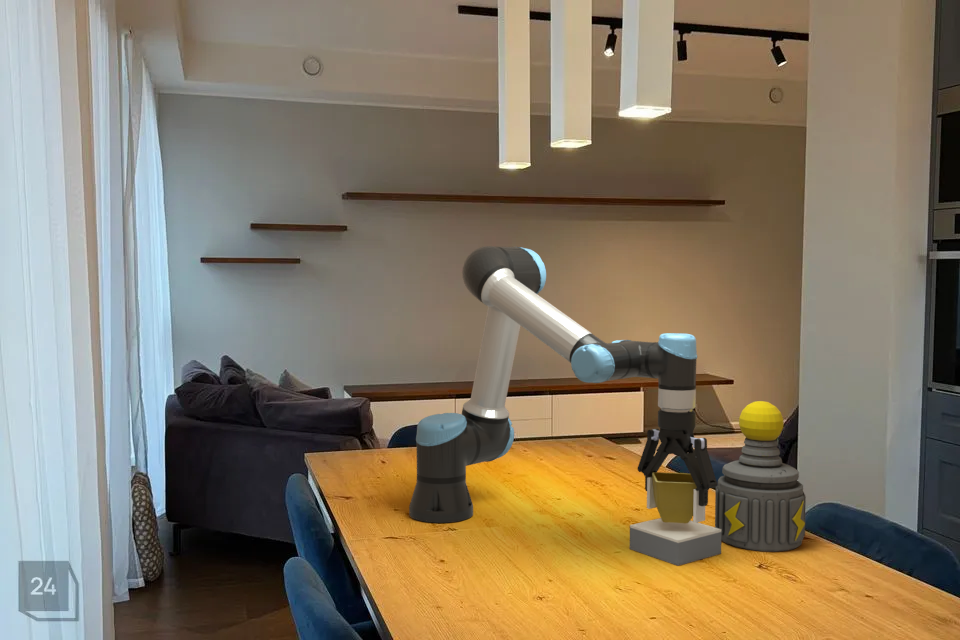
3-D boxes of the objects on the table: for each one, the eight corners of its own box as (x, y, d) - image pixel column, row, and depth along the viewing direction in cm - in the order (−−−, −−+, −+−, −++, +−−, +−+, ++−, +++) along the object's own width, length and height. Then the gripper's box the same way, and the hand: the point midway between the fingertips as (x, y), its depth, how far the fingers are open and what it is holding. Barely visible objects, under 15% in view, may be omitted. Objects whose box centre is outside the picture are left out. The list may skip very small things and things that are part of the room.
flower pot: (693, 515, 181) (694, 472, 181) (699, 527, 172) (700, 482, 172) (651, 514, 182) (651, 471, 182) (655, 525, 173) (655, 481, 173)
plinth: (678, 565, 168) (678, 540, 168) (629, 548, 179) (629, 525, 179) (721, 553, 176) (721, 529, 176) (672, 538, 186) (672, 515, 186)
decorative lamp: (695, 537, 187) (698, 400, 185) (745, 522, 199) (747, 393, 198) (774, 559, 172) (777, 410, 171) (822, 541, 184) (825, 402, 183)
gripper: (737, 415, 169) (735, 524, 170) (645, 400, 188) (644, 499, 189) (712, 418, 164) (710, 531, 165) (621, 403, 184) (620, 504, 185)
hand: (675, 514), depth 177 cm, fingers closed on flower pot, 12 cm apart
